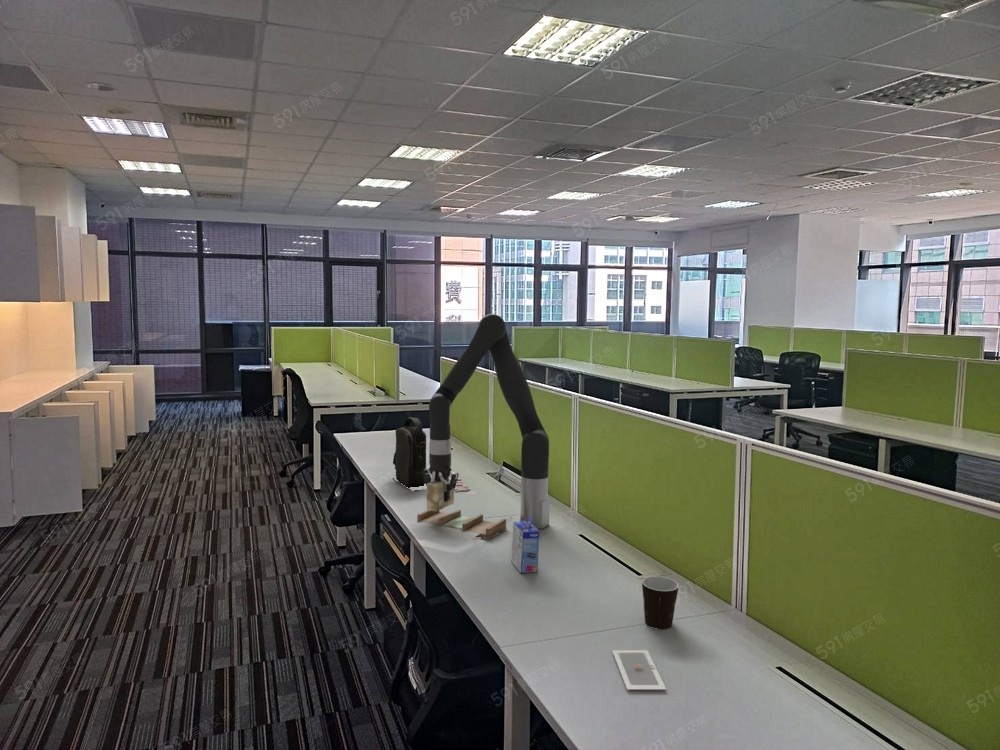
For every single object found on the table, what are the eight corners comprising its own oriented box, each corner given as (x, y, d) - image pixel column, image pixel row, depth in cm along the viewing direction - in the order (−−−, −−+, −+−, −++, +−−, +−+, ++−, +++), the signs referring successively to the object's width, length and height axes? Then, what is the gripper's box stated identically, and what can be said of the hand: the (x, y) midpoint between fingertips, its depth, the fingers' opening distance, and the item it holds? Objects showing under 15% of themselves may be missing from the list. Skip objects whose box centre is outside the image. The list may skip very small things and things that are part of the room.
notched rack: (505, 529, 229) (506, 519, 228) (488, 539, 218) (488, 529, 218) (436, 515, 242) (437, 505, 242) (417, 524, 232) (417, 514, 231)
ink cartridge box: (539, 572, 193) (540, 523, 191) (520, 574, 191) (521, 524, 190) (528, 559, 202) (529, 512, 201) (510, 561, 201) (511, 513, 199)
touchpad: (627, 694, 134) (627, 684, 134) (611, 655, 149) (612, 645, 149) (666, 694, 134) (666, 684, 134) (647, 655, 149) (647, 645, 149)
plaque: (439, 477, 292) (462, 476, 295) (439, 480, 292) (462, 479, 295) (457, 499, 260) (482, 497, 262) (457, 502, 260) (482, 501, 263)
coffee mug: (650, 611, 170) (652, 573, 168) (682, 622, 164) (684, 582, 163) (627, 628, 161) (629, 587, 159) (661, 640, 155) (663, 598, 154)
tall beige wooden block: (454, 503, 238) (454, 478, 237) (436, 511, 228) (436, 485, 227) (444, 501, 240) (443, 476, 239) (426, 509, 230) (426, 483, 229)
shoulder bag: (432, 488, 276) (433, 421, 273) (411, 491, 271) (412, 422, 268) (410, 476, 295) (411, 412, 292) (391, 478, 291) (391, 414, 288)
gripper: (463, 451, 232) (463, 500, 233) (429, 447, 238) (429, 494, 240) (451, 456, 225) (452, 506, 227) (416, 451, 232) (417, 500, 234)
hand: (440, 499), depth 233 cm, fingers closed on tall beige wooden block, 4 cm apart
